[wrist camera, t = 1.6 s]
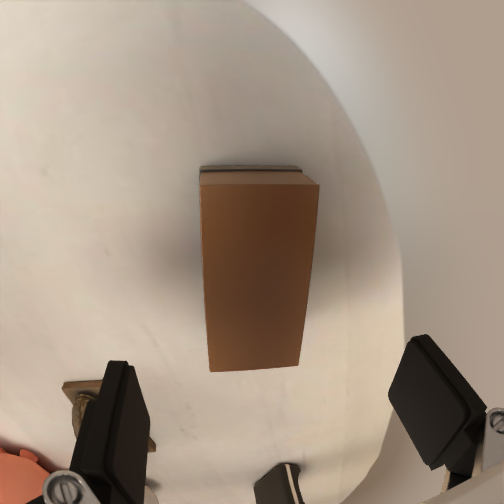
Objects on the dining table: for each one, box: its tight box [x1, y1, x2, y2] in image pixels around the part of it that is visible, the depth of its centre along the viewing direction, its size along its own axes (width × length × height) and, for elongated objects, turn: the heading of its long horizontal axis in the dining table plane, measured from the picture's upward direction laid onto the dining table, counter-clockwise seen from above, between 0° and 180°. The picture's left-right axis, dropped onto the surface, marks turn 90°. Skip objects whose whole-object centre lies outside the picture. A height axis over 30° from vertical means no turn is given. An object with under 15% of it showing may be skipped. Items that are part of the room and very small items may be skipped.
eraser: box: [199, 166, 319, 372], centre depth 16 cm, size 5×10×4 cm, turn 179°
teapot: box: [0, 447, 50, 504], centre depth 21 cm, size 15×17×13 cm
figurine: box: [62, 380, 156, 452], centre depth 20 cm, size 14×4×9 cm, turn 10°
